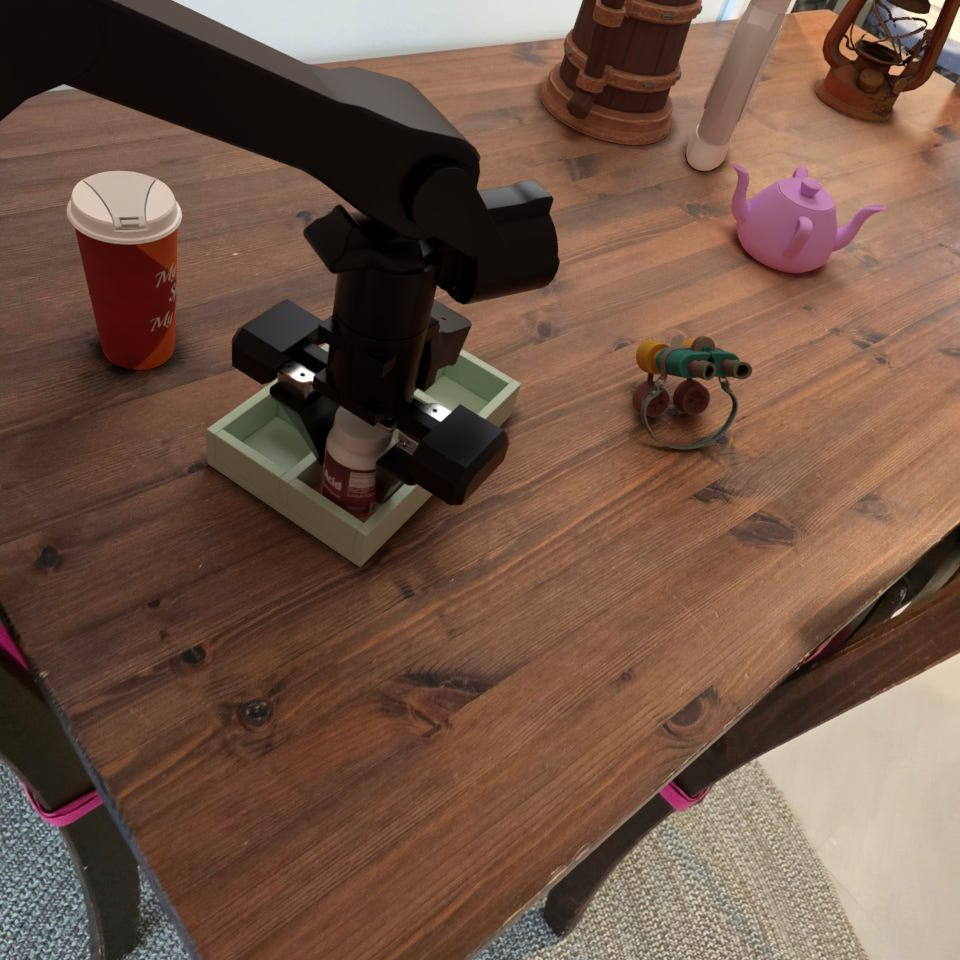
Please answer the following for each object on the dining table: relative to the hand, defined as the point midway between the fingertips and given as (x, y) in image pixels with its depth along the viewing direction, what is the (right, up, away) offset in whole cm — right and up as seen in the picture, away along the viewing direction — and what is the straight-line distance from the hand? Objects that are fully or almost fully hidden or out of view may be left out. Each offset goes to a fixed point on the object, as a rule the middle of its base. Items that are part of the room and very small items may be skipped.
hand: (354, 481), depth 64 cm
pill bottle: (0, -1, +2) cm, 2 cm away
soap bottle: (+40, +42, +53) cm, 79 cm away
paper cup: (-19, +11, +9) cm, 24 cm away
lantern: (+68, +60, +77) cm, 119 cm away
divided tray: (0, +4, +8) cm, 8 cm away
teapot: (+44, +27, +41) cm, 66 cm away
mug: (+25, +49, +55) cm, 78 cm away
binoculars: (+26, +6, +17) cm, 32 cm away
